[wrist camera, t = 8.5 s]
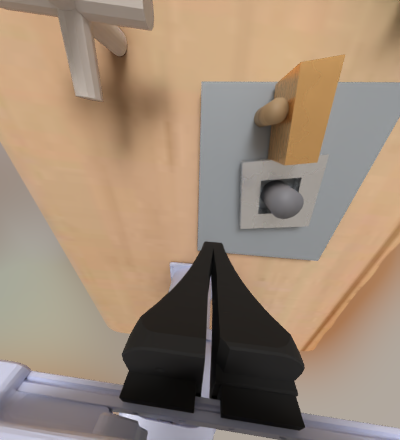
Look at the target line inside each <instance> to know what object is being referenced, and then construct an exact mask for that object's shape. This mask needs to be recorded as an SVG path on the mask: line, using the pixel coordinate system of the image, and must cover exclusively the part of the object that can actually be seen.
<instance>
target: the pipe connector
mask: <svg viewBox="0 0 400 440" xmlns="http://www.w3.org/2000/svg"><path fill="white" fill-rule="evenodd" d="M0 8H4V9H7V10H13V11H20V12H27V13H34V14H40V15H47V16H54V17H58V18H59V22H60V27H61V31H62V36H63V40H64V45H65V49H66V54H67V59H68V63H69V68H70V72H71V77H72V81H73V86H74V90H75V95H76V96H77V97H80V98H84V99H89V100H94V101H100V102H103V95H102V88H101V82H100V75H99V68H98V62H97V55H96V48H95V42H94V38H95V39H96V40H98V41H99V42H100V43H101V44H103V45H104V46H105V47H106V48H108V49H109V50H110V51H111V52H113V53H114V54H115V55H117V56H122V55H124V54H125V52H126V50H127V40H126V37H125V35H124V33H123V32H122V31H121V30H120V28H119V27H118V26H123V27H130V28H137V29H143V30H150V31H152V29H153V24H154V12H153V2H152V0H0Z"/></svg>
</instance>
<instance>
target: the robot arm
mask: <svg viewBox="0 0 400 440" xmlns="http://www.w3.org/2000/svg"><path fill="white" fill-rule="evenodd" d="M170 273H171V285H170V288H169V291H168V294H167V295H165V296H164V297H163V298H162V299H161V300H160V301H159V302H158V303H157V304H156V305H154V306H153V307H152V308H151V309H149V310H148V311H147V312H146V313H144V314H143V315H142V316H141V317H140V319H139V320H138V322H137V323H136V325H135V327H134V329H133V330H132V332H131V334H130V336H129V338H128V341H127V343H126V346H125V348H124V350H123V353H122V357H123V361H124V362H125V364H126V366H127V368H128V370H129V372H128V375H127V377H126V380H125V383H124V385H119V384H113V383H107V382H101V381H94V380H88V379H81V378H75V377H68V376H62V375H55V374H49V373H43V372H37V371H31V369H30V368H29V367H27V366H26V365H24V364H21V363H17V362H13V361H6V360H0V440H213V435H214V433H215V431H216V429H219V430H226V431H231V432H237V433H243V434H249V435H254V436H261V437H266V438H272V439H278V440H400V428H396V427H389V426H383V425H377V424H370V423H364V422H357V421H351V420H345V419H338V418H332V417H325V416H319V415H312V414H306V413H301V412H300V408H299V405H298V402H297V399H296V396H298V392H297V389H296V386H295V382H294V380H296V379H297V378H298V377H299V376H300V375H301V374H302V372H303V370H304V363H303V360H302V358H301V355H300V353H299V351H298V349H297V346H296V344H295V342H294V340H293V338H292V336H291V335H290V334H289V333H288V332H287V331H286V330H285V329H284V328H283V327H282V326H281V325H280V324H279V323H278V322H277V321H276V320H275V319H274V318H273V317H272V316H271V315H270V314H269V313H268V312H267V311H266V310H265V309H264V308H263V307H262V305H261V304H260V303H259V302H258V301H257V300H256V299H255V297H254V296H253V295H252V294H251V293H250V291H249V290H248V289H247V287H246V286H245V285H244V283H243V282H242V280H241V279H240V277H239V276H238V274H237V273H236V271H235V269H234V268H233V266H232V264H231V262H230V260H229V258H228V256H227V254H226V252H225V249H224V246H223V244H222V243H219V242H207V241H205V242H204V243H203V246H202V249H201V251H200V253H199V254H198V256H197V258H196V260H195V261H194V263H193V264H188V263H177V262H171V263H170ZM211 299H212V309H213V312H212V330H211V329H209V325H210V300H211ZM112 411H113V412H119V415H116V414H113V413H112Z"/></svg>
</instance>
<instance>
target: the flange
mask: <svg viewBox="0 0 400 440" xmlns="http://www.w3.org/2000/svg"><path fill="white" fill-rule="evenodd" d="M344 58H345V55H339V56H333V57H328V58H322V59H316V60H310V61H305V62H301V63H299V64H298V65H297V66H296V67H295V68H294V69H293V70H292V71H290V72H289V73H288V74H287V75H286V76H285V77H284V78H282V79H281V80H280V81H279V82H278V83H277V84H276V85H275V94H274V99H275V98H278V97H282V98H285V99H286V100H287V101H288V104H289V112H288V114H287V116H286V118H285V119H284V120H283V121H282V122H280V123H278V124H274V125H271V132H270V142H269V151H268V158H267V159H256V160H246V161H241V170H240V212H239V225H240V229H251V228H279V227H306V226H309V224H310V220H311V217H312V213H313V210H314V206H315V203H316V199H317V196H318V192H319V189H320V185H321V182H322V178H323V175H324V171H325V168H326V164H327V161H328V157H329V154H323V153H320V151H321V147H322V143H323V139H324V135H325V131H326V127H327V124H328V120H329V116H330V112H331V108H332V104H333V100H334V96H335V93H336V89H337V85H338V81H339V77H340V73H341V69H342V65H343V61H344ZM289 178H296V179H295V184H294V190H296V191H297V192H298V193H300V194H301V195H302V197H303V199H304V204H303V207H302V209H301V210H300V212H299V213H298V214H296V215H295V216H293V217H291V218H288V219H280V218H277V217H275V216H274V215H273V214H272V213H271V211H270V210H269V209H262V210H258V209H259V198H260V187H261V181H263V180H276V179H289Z"/></svg>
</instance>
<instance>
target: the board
mask: <svg viewBox="0 0 400 440" xmlns="http://www.w3.org/2000/svg"><path fill="white" fill-rule="evenodd" d="M277 83H278V82H202V91H201V132H200V173H199V215H198V251H201V249H202V246H203V243H204V242H205V241H207V242H219V243H222V244H223V246H224V249H225V252H226V253H232V254H244V255H256V256H267V257H279V258H291V259H302V260H314V261H318V260H319V258H320V256H321V255H322V253H323V251H324V249H325V247H326V246H327V244H328V242H329V240H330V239H331V237H332V235H333V233H334V232H335V230H336V228H337V226H338V225H339V223H340V221H341V219H342V217H343V216H344V214H345V212H346V210H347V209H348V207H349V205H350V203H351V202H352V200H353V198H354V196H355V195H356V193H357V191H358V189H359V187H360V186H361V184H362V182H363V180H364V179H365V177H366V175H367V173H368V172H369V170H370V168H371V166H372V165H373V163H374V161H375V159H376V157H377V156H378V154H379V152H380V150H381V149H382V147H383V145H384V143H385V142H386V140H387V138H388V136H389V135H390V133H391V131H392V129H393V127H394V126H395V124H396V122H397V120H398V119H399V117H400V83H394V82H338V85H337V89H336V93H335V96H334V100H333V104H332V108H331V112H330V116H329V120H328V124H327V127H326V131H325V135H324V139H323V143H322V147H321V151H320V153H323V154H329V157H328V161H327V164H326V168H325V171H324V175H323V178H322V182H321V185H320V189H319V192H318V196H317V199H316V203H315V206H314V210H313V213H312V217H311V220H310V224H309V226H306V227H279V228H251V229H240V225H239V212H240V170H241V161H246V160H256V159H267V158H268V151H269V142H270V132H271V125H269V126H264V127H258V126H257V125H256V124H255V122H254V116H255V113H256V112H257V110H258V109H260V108H261V107H263V106H264V105H266V104H268V103H269V102H271V101H272V100H274V94H275V85H276V84H277ZM295 179H296V178H289V179H276V180H263V181H261V187H260V198H259V209H258V210H262V209H269V210H270V211H271V213H272V214H273V215H274V216H275V217H277V218H280V219H288V218H291V217H293V216H295V215H296V214H298V213H299V212H300V210H301V209H302V207H303V204H304V199H303V197H302V195H301V194H300V193H298V192H297V191H296V190H294V184H295Z"/></svg>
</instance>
